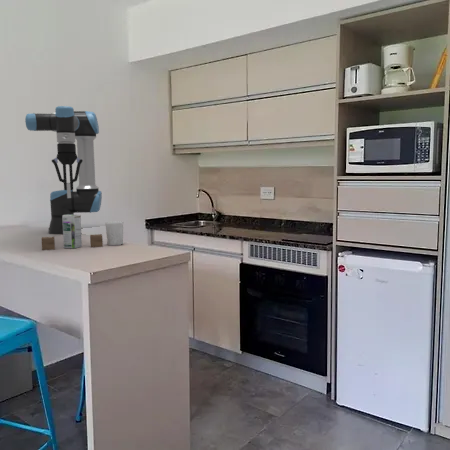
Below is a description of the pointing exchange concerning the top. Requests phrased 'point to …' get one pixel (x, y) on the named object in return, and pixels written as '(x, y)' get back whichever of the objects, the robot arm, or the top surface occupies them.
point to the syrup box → (72, 231)
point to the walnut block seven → (48, 243)
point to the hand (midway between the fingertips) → (69, 197)
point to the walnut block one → (96, 240)
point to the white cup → (114, 233)
